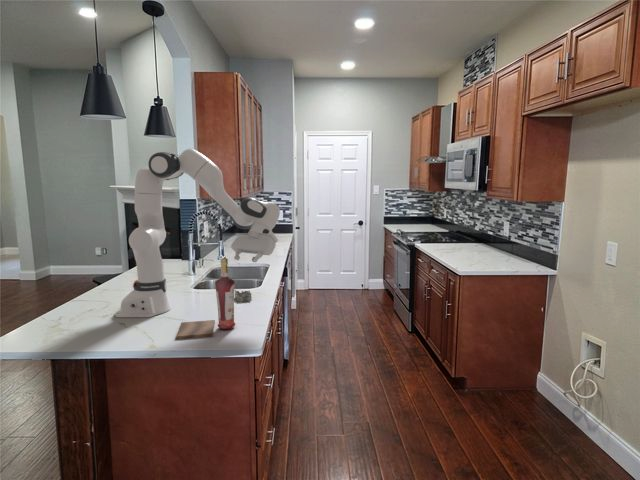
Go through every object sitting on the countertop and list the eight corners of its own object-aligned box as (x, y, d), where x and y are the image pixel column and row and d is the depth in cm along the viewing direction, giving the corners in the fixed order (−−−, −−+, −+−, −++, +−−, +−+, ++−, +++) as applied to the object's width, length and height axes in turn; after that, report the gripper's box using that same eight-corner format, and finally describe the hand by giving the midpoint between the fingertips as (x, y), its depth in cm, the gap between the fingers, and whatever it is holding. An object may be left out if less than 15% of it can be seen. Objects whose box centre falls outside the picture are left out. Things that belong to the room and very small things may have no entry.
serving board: (176, 339, 145) (175, 336, 145) (181, 325, 159) (181, 322, 159) (212, 336, 147) (212, 333, 147) (214, 322, 162) (214, 320, 162)
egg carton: (234, 297, 199) (234, 289, 199) (249, 295, 202) (248, 288, 201) (237, 303, 189) (236, 294, 189) (252, 301, 192) (252, 293, 191)
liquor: (231, 332, 152) (228, 261, 148) (213, 330, 153) (210, 260, 149) (238, 325, 159) (236, 257, 155) (222, 324, 160) (219, 256, 156)
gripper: (236, 228, 173) (222, 253, 166) (274, 231, 163) (260, 258, 156) (243, 237, 177) (229, 262, 170) (281, 240, 167) (267, 267, 160)
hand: (244, 260), depth 163 cm, fingers open, 8 cm apart
